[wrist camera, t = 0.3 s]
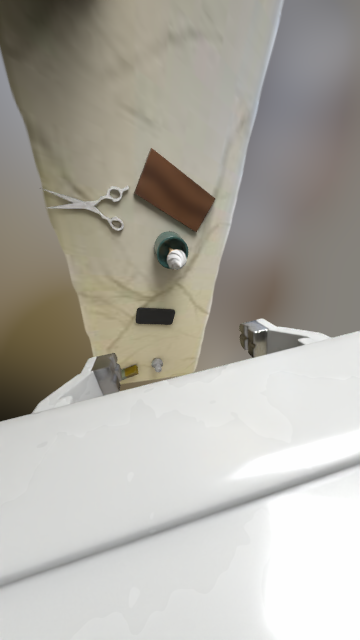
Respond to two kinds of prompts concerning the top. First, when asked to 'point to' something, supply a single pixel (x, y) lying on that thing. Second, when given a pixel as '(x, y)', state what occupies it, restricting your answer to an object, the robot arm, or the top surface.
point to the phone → (154, 316)
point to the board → (173, 191)
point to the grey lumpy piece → (157, 364)
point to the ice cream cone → (176, 259)
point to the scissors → (91, 204)
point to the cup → (168, 241)
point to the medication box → (129, 372)
